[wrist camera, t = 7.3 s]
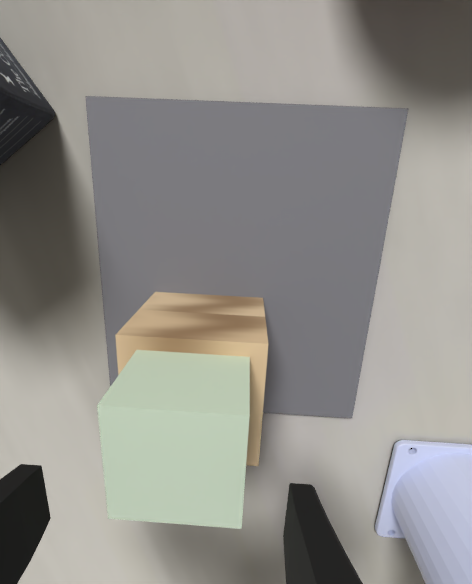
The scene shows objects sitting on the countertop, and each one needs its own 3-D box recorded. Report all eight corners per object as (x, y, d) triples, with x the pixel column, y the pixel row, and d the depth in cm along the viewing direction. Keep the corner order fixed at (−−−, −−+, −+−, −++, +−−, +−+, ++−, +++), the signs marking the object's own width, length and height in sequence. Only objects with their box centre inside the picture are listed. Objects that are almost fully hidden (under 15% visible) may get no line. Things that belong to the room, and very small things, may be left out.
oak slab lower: (263, 297, 18) (265, 316, 15) (256, 391, 20) (257, 422, 17) (155, 291, 18) (138, 309, 15) (158, 385, 20) (144, 415, 17)
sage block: (249, 356, 13) (249, 415, 9) (243, 448, 14) (241, 528, 11) (136, 349, 13) (96, 405, 10) (141, 441, 14) (108, 518, 11)
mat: (404, 110, 15) (408, 108, 15) (350, 414, 20) (352, 418, 20) (89, 98, 16) (85, 96, 15) (114, 398, 21) (111, 402, 20)
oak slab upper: (265, 316, 15) (268, 343, 13) (257, 422, 17) (258, 466, 14) (138, 309, 15) (115, 335, 13) (144, 415, 17) (124, 456, 15)
